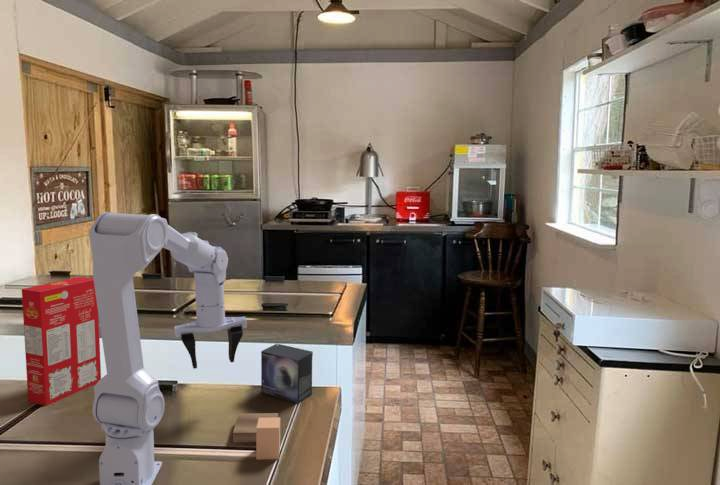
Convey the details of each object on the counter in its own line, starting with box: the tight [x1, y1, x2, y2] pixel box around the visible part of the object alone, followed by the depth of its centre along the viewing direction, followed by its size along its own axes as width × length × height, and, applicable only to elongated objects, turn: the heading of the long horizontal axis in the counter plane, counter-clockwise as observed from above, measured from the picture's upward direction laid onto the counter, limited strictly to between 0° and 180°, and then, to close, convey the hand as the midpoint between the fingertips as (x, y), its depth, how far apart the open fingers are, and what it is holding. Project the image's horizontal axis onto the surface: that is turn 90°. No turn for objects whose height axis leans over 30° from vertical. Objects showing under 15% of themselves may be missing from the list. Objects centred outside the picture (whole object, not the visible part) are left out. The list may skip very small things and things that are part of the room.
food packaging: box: [21, 276, 102, 407], centre depth 120 cm, size 15×5×25 cm, turn 160°
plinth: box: [232, 412, 279, 444], centre depth 105 cm, size 8×8×2 cm
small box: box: [260, 343, 314, 404], centre depth 123 cm, size 11×6×10 cm, turn 62°
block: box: [255, 416, 281, 460], centre depth 97 cm, size 4×4×6 cm
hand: (213, 363), depth 113 cm, fingers open, 7 cm apart
